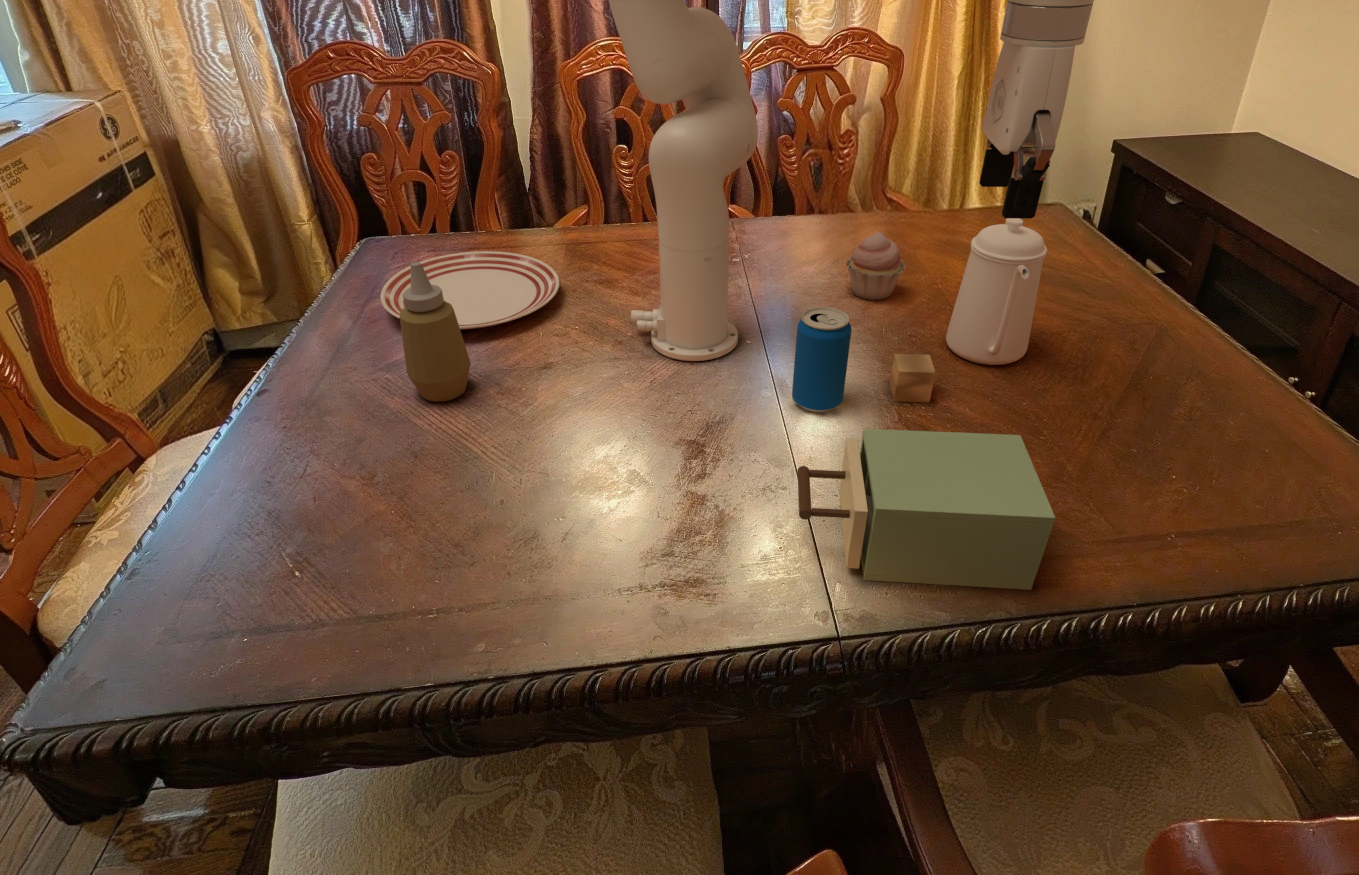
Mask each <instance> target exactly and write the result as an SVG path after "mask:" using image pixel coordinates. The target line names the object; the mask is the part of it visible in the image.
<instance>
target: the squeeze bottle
mask: <svg viewBox="0 0 1359 875" xmlns="http://www.w3.org/2000/svg"><path fill="white" fill-rule="evenodd" d="M420 262H421V261H414V262H411V263H410V266H411V288H408V289H407V290H406V291H404V293H403V299H404V303H405V307H404V308H403V309H402V310H401V313H400V315H399V316H400V319H399V322H400V331H401V338H402V346H403V354H404V362H405V369H406V374H407V376H408V378H409V379H410V381H411V382H412V384H413V385H414V387H415V389H416V390H417V391H418V392H419V394H420V395H421V397H422V398H423V399H424V400H426V401H429V402H436V403H437V402H439V403H440V402H448V401H451V400H454V399H456V398H458V397H460V396H462V395H463V394H465V392H466V389H467V387H468V386H467V385H468V379H469V374H470V367H471V360H470V356H469V353H468V351H467V350H468V349H467V347H466V344H465V341H464V338H463V334H462V331H461V329H460V328H459V325H458V322H457V318H456V315H455V312H454V309H453V307H452V305H451V304H450V303H448V302H446V301H444V298H443V294H442V290H441V288H440V287H439V286H436V285H432V284H430V282H429V279H428V277H427V275H426V273H425V271H424V269H423V267H422V264H421V263H420Z"/></svg>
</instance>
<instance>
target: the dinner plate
mask: <svg viewBox="0 0 1359 875" xmlns="http://www.w3.org/2000/svg"><path fill="white" fill-rule="evenodd" d="M419 262H420V263H421V264H422V267H423V269H424V271H425V273H426V275H427V277H428V279H429V282H430V284H432V285H436V286H439V287H440V288H441V290H442V294H443V298H444V301H446V302H448V303H450V304H451V305H452V307H453V309H454V312H455V315H456V318H457V322H458V325H459V328H460V330H473V329H480V328H481V329H482V328H487V327H492V326H497V325H500V324H504V323H507V322H511V321H514V320H517V319H521V318H523V317H525V316H528V315H530V314H532V313H534V312H536V311H538V310H540V309H542V308H543V307H544V306H545V305H547V304H548V303H549V302H551V301H552V299H554V297H555V296H556V294H557V293H558V291H559V288H560V284H561V283H560V277H559V275H558V273H557V271H555V269H554V268H553V267H551V265H549V264H547V263H546V262H545V261H542V260H541V259H540V260H539V259H538V258H535V257H532V256H530V255H525V254H520V253H514V252H509V251H495V250H494V251H493V250H491V251H490V250H481V251H480V250H478V251H466V252H456V253H450V254H445V255H439V256H435V257H431V258H428V259H424V260H422V261H419ZM408 288H411V265H409V266H407V267H405V268H404V269H403V268H402V269H401V270H400V271H398V272H396V273H395V274H394V275H393V276H391V277H390V278H389V279H388V281H387V282H386V283H385V284H384V286H383V287H382V289H381V291H380V297H379V298H380V303H381V305H382V307H383V308H384V309H385V311H387V312H388V313H389V314H390V315H392V316H393V317H395V318H397V319H399V320H400V316H399V315H400V313H401V310H402V309H403V308H404V307H405V303H404V299H403V293H404V291H406V290H407V289H408Z"/></svg>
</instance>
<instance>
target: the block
mask: <svg viewBox="0 0 1359 875" xmlns="http://www.w3.org/2000/svg"><path fill="white" fill-rule="evenodd" d="M935 376H936V370H935V367H934V364H933V359H932V357H931V354H923V353H922V354H920V353H919V354H918V353H894V355H893V361H892V367H891V373H890V378H889V385H890V390H891V391H890V392H891V394H892V399H893V402H899V403H902V402H903V403H927V404H928V403H929V404H930V402H931V397H932V392H933V387H934V384H935V383H934V382H935Z"/></svg>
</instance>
